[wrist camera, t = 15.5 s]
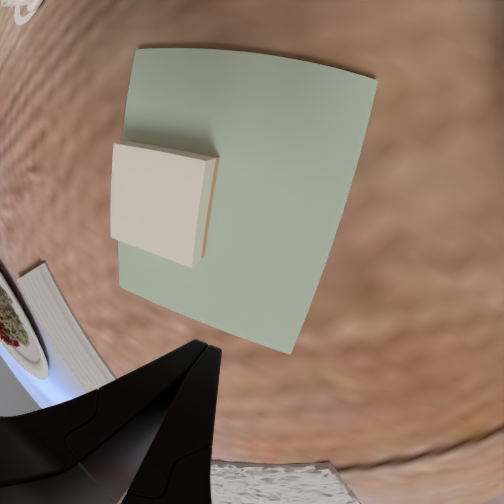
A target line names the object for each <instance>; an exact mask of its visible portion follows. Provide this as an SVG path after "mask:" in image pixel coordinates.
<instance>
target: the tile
mask: <svg viewBox="0 0 504 504" xmlns="http://www.w3.org/2000/svg"><path fill="white" fill-rule="evenodd" d="M219 160H220V157H218V156H213V155H208V154H204V153H199V152H194V151H189V150H184V149H179V148H174V147H169V146H163V145H158V144H152V143H146V142H140V141H134V140H131V141H125V142H119V143H114V147H113V161H112V180H111V238H114V239H116V240H119V241H121V242H124V243H127V244H129V245H132V246H134V247H137V248H140V249H142V250H145V251H147V252H150V253H153V254H155V255H158V256H161V257H163V258H166V259H169V260H172V261H174V262H177V263H180V264H182V265H185V266H188V267H191V268H192V267H193V266H194V265H195V264H196V263H197V262H198V261H199V260H200V259H202V258H203V257H204V256H205V250H206V243H207V235H208V229H209V222H210V215H211V208H212V202H213V196H214V189H215V183H216V177H217V171H218V165H219Z"/></svg>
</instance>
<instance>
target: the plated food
mask: <svg viewBox="0 0 504 504" xmlns="http://www.w3.org/2000/svg"><path fill="white" fill-rule="evenodd" d="M0 341H1V343H2V344H3V346H4V347H5V348H6V349H7V351H8V352H9V353H10V354H11V356H12V357H13V358H14V359H15V360H16V361H17V362H18V363H19V364H20V365H21V366H22V367H23V368H24V369H25V370H27V371H28V372H29V373H30V374H32V375H33V376H35V377H37V378H40V379H46V378H47V376H48V375H49V368H48V363H47V360H46V357H45V354H44V352H43V349H42V347H41V345H40V343H39V340H38V338H37V336H36V334H35V332H34V330H33V328H32V326H31V324H30V322H29V320H28V318H27V316H26V314H25V312H24V310H23V309H22V307H21V305H20V303H19V301H18V300H17V298H16V296H15V294H14V293H13V291H12V289H11V288H10V286H9V285H8V283H7V281H6V280H5V279H4V277H3V275H2V274H1V272H0Z"/></svg>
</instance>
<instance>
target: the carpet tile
mask: <svg viewBox="0 0 504 504" xmlns="http://www.w3.org/2000/svg"><path fill="white" fill-rule="evenodd" d="M210 480H211V498H212V504H361V503H360V502H359V501H358V499H357V497H356V496H355V495H354V493H353V492H352V491H351V490H350V489H349V487H348V486H347V485H346V483H345V482H344V480H343V479H342V478H341V476H340V475H339V473H338V472H337V470H336V469H335V467H334V466H333V465H332V463H331V462H324V463H302V464H254V463H233V462H223V461H212V460H211V474H210Z"/></svg>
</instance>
